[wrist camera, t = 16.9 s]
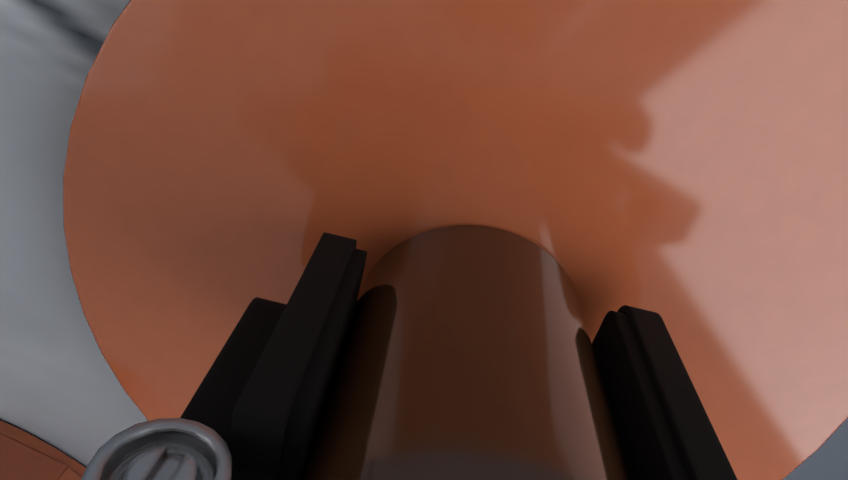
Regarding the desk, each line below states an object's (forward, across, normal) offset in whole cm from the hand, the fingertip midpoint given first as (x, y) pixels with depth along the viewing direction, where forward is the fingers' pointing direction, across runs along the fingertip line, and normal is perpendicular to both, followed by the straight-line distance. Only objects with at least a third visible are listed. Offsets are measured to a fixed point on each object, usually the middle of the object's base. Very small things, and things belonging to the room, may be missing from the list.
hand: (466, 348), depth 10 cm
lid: (+1, 0, 0) cm, 1 cm away
